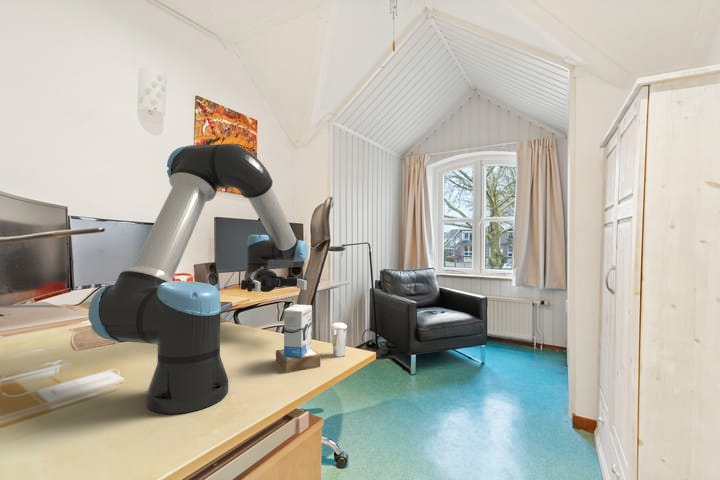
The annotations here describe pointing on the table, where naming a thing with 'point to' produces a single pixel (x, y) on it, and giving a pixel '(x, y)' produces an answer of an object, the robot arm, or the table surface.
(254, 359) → the table surface
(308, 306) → the ink box
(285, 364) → the plinth
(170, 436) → the table surface
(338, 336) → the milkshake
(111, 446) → the table surface
